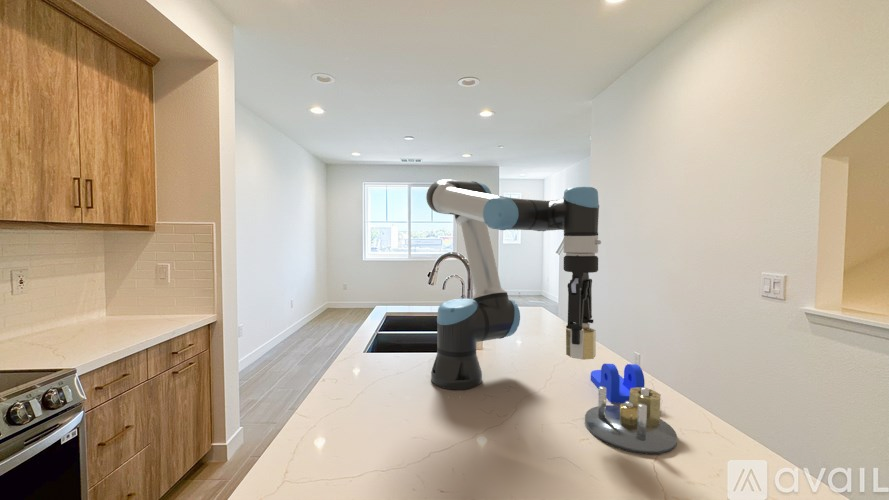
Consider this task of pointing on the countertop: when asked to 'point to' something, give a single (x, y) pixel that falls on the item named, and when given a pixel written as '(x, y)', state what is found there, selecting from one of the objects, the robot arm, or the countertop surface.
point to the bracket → (618, 381)
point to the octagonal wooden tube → (584, 343)
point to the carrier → (632, 423)
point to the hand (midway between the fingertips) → (580, 353)
